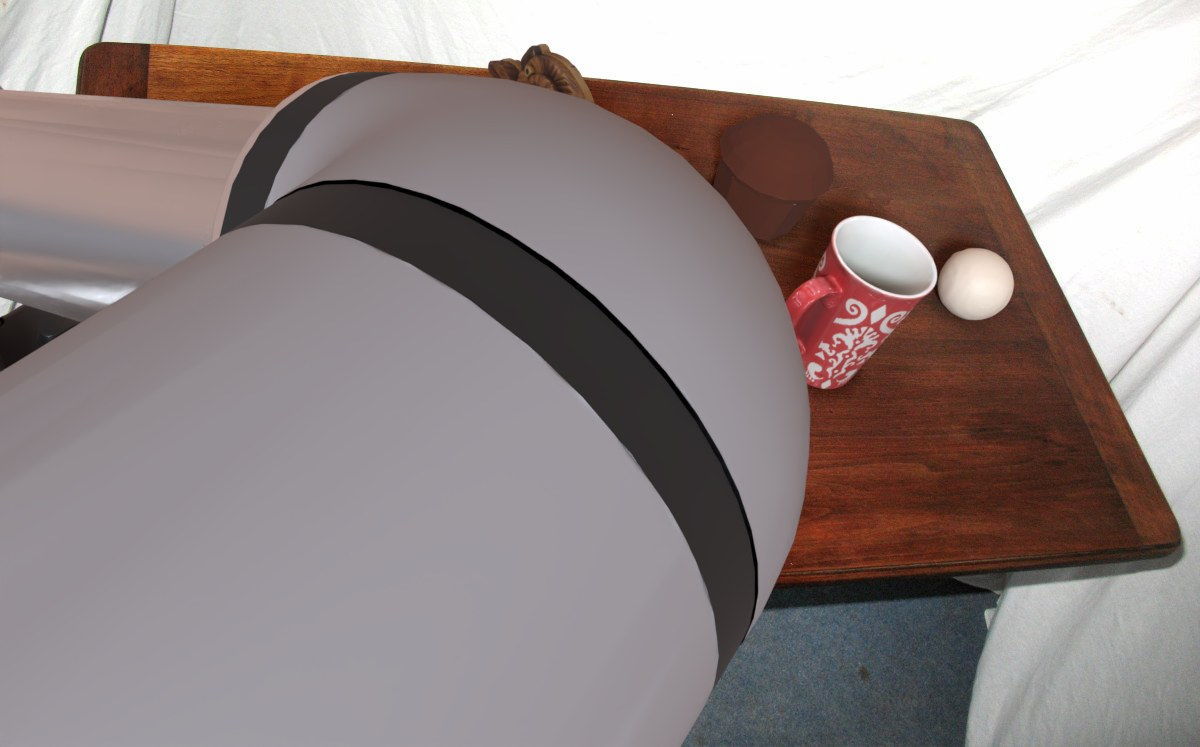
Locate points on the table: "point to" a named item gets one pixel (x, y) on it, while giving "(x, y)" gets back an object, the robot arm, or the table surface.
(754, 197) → the muffin
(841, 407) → the table surface
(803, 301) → the mug
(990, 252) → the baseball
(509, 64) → the wooden carving
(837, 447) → the table surface
